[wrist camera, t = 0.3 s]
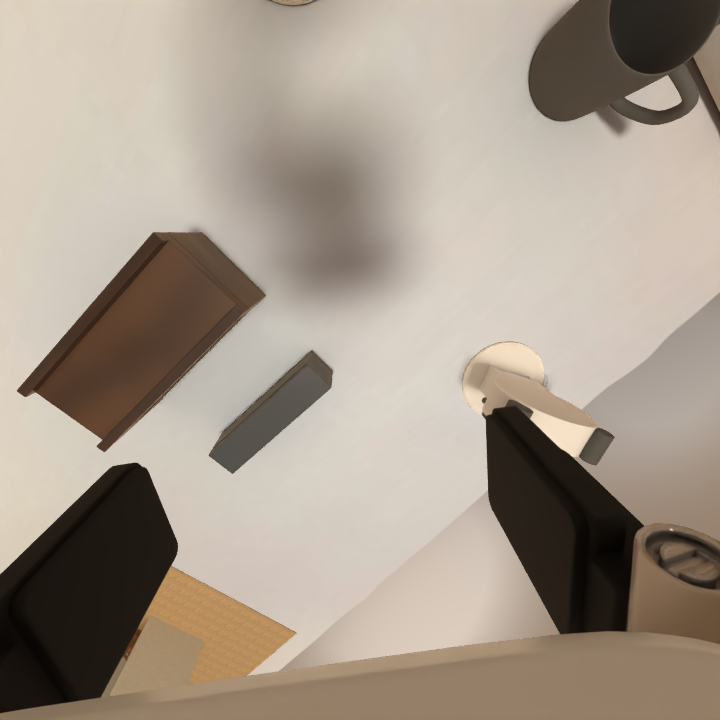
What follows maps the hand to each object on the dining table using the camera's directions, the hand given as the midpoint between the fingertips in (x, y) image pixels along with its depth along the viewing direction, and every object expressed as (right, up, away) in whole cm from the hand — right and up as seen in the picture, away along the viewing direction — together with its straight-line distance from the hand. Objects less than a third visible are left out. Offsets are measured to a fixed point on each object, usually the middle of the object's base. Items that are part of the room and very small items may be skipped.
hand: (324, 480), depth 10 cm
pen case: (-11, -3, +39) cm, 41 cm away
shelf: (-22, +8, +35) cm, 42 cm away
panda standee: (+21, +1, +40) cm, 45 cm away
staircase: (-35, -48, +55) cm, 81 cm away
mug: (+25, +32, +28) cm, 50 cm away
